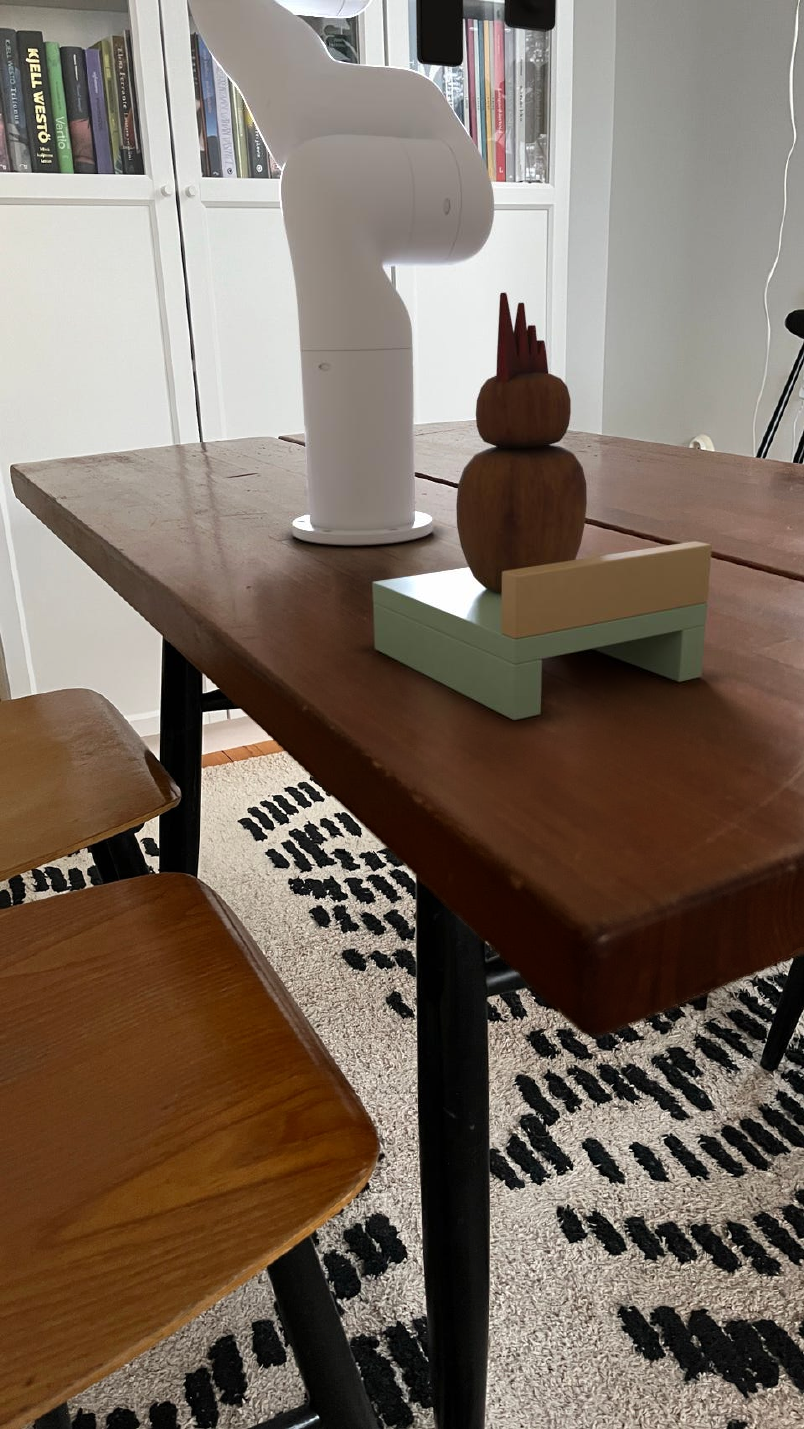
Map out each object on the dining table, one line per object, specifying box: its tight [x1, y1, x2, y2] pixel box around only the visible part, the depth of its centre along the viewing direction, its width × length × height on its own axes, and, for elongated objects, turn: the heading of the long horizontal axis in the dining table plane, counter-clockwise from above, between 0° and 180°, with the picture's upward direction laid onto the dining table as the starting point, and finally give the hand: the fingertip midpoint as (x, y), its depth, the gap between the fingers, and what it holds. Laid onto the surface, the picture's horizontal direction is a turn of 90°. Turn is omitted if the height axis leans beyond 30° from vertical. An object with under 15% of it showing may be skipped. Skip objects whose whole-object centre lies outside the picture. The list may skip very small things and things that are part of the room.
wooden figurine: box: [455, 292, 588, 593], centre depth 55 cm, size 7×6×15 cm
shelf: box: [371, 540, 713, 721], centre depth 57 cm, size 14×12×7 cm
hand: (482, 47), depth 64 cm, fingers open, 9 cm apart
